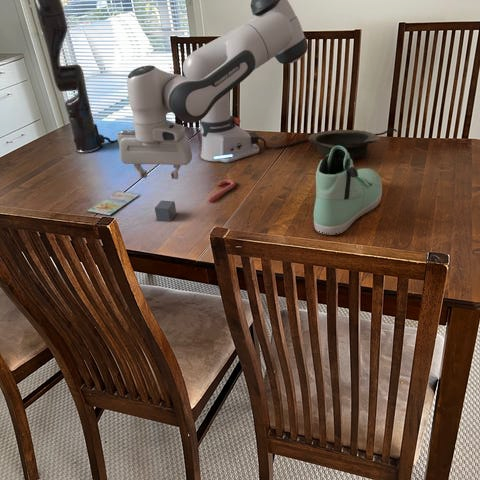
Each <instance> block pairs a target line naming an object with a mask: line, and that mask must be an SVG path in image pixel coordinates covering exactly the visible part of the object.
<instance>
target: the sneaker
mask: <svg viewBox="0 0 480 480" xmlns="http://www.w3.org/2000/svg"><path fill="white" fill-rule="evenodd" d="M317 165H318V166H317V168H316V172H315V201H314V207H313V225H314V229H315V231H316V232H318V233H320V234H323V235H326V236H327V235H328V236H336V235H339V234H342V233H344V232H345V231H347V230H348V229H349V228H350V227H351V226H352V225H353V224H354V222H356V221H357V220H358V219H359V218H360V217H362V216H363V215H365V214H367V213H370V212H372V210H374V209H375V208H377V207H378V205H380V203H381V200H382V196H383V184H382V183H383V182H382V179H381V176H380V175H379V173H378V172H377V171H376V170H374V169H372V168H367V167H365V168H358V169H357V168H355V167H354V161H352V159H350V156H349V153H348V152H347V150H346V149H345V148H344V147H342V146H334V147H333V148H332V149H331V152H330V154H329V155H327V156H326V157H323V158H322V159H321V160H320V161H319V163H318V164H317ZM343 230H344V231H343ZM319 231H320V232H319ZM322 232H323V233H322ZM339 232H340V233H339ZM326 233H327V234H326ZM328 233H329V234H328ZM335 233H337V234H335Z"/></svg>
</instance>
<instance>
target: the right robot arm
mask: <svg viewBox="0 0 480 480" xmlns="http://www.w3.org/2000/svg"><path fill="white" fill-rule="evenodd" d="M250 10H251V13H252V16H254V17H252V18H250V19H249V20H247V21H245V22H243V23H242V24H240V25H238V26H237V27H235V28H233V29H232V30H230V31H228V32H226V33H224V34H223V35H220V36H219V37H217V38H215V39H214V40H211V41H210V42H207V43H206V44H204V45H202V46H201V47H199V48H197V49H196V50H194V51H192V52H191V53H190V54H189V55H187V57H186V58H185V59H184V61H183V64H182V71H183V75H181V74H178V73H171V72H167V71H164V70H161V69H160V68H158V67H156V66H155V65H151V64H150V65H149V64H148V65H142V66H139V67H137V68H134V69H132V70H131V71H130V72H129V74H128V75H127V78H126V87H127V89H126V90H127V97H128V103H129V107H130V109H131V111H132V124H133V129H132V130H125V129H123V130H120V131H119V132H118V133H117V136H116V137H117V138H116V140H118V142H117V143H118V144H119V145H118V146H119V159H120V161H121V162H122V163H123V164H124V165H125V164H126V165H133V168H134V169H135V170H136V171H137V172H138V173H139V178H140V179H146V178H147V177H148V172H147V170H145V169H144V168H143V166H142V165H159V166H160V165H161V166H163V165H165V166H173V169H174V170H173V171H172V172H171V173H170V175H171V179H172V180H178V179H179V171H180V168H181V166H188V165H189V164H190V163H191V162H192V160H193V152H192V147H191V143H190V140H189V138H188V136H186V135H185V134H186V127H185V126H184V125H179V124H180V123H176V122H173V121H170V120H168V119H167V115H168V114H170V113H172V114H174V116H175V117H176V118H177V119H179V120H180V121H182V122H187V123H188V124H194V123H198V122H199V131H200V135H201V148H200V149H201V151H200V158H201V159H202V160H204V161H208V162H221V163H231V162H235V161H237V160H240V159H243V158H246V157H249V156H252V155H255V154H258V153H260V147H259V145H257V144H259V142H260V140H261V141H262V142H263V146H264V148H265V149H267V150H272V149H273V150H274V149H275V150H276V149H283V148H285V147H291V146H295V145H297V144H300V143H303V142H309V141H308V138H305V139H301V140H298V141H294V142H292V143H288V144H283V145H280V146H276V147H268V146H267V142H266V139H264V138H263V137H261V136H258V134H257V133H256V131H255V132H247V131H246V130H244V129H243V128H241V127H240V126H238V125H240V124H241V119H240V118H238V117H235V116H233V115H231V102H230V101H231V100H230V91H232V90H233V89H234V88H236V87H237V86H238V85H240V84H241V83H242V82H243V81H244V80H245V79H247V78H248V77H249V76H250V75H251V74H252V73H253V72H254V71H256V69H258V68H260V67H261V66H263V65H264V64H266V63H267V62H268V61H270V60H271V59H273V58H275V59H276V61H277V62H278V63H279V64H282V65H289V64H293V63H296V62H298V61H300V59H301V58H303V56H305V54H306V53H307V51H308V49H309V44H308V40H307V37H306V36H305V34H304V30H303V28H302V25H301V23H300V20H299V18H298V16H297V15H296V13H295V10H294V9H293V6H292V5H291V4H290V2H289V0H251V1H250ZM187 123H186V124H187ZM391 131H394V132H397V133H398V130H397V129H396V128H389V129H387V130H385V131H383V132H380V133H374V134H375V135H377V136H382V135H385V134H387V133H389V132H391Z"/></svg>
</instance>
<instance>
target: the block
mask: <svg viewBox="0 0 480 480" xmlns="http://www.w3.org/2000/svg"><path fill="white" fill-rule="evenodd" d="M154 213H155V217H156V221H160V222H162V221H163V222H171V221H172V220H173V219H174V218H175V216H176V215H177V209H176V202H175V201H174V200H160V201H159V202H158V204H157V205H155V207H154Z"/></svg>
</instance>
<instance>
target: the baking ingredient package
mask: <svg viewBox="0 0 480 480" xmlns="http://www.w3.org/2000/svg"><path fill="white" fill-rule="evenodd" d="M137 197H139V194H135V193H129V192H123V191H115V192H114V193H113V194H111V195H109V196H108V197H106V198H104V199H103V200H102V201H100V202H98V203H97V204H94V205H93V206H92V207H91V208H89V209H87V212H91V213H97V214H100V215H101V214H102V215H106V216H111V215H113V213H115V212H116V211H118V210H119V209H121V208H122V207H124V206H125V205H127V204H129V203H130V202H132V201H133V200H134V199H136V198H137Z"/></svg>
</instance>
